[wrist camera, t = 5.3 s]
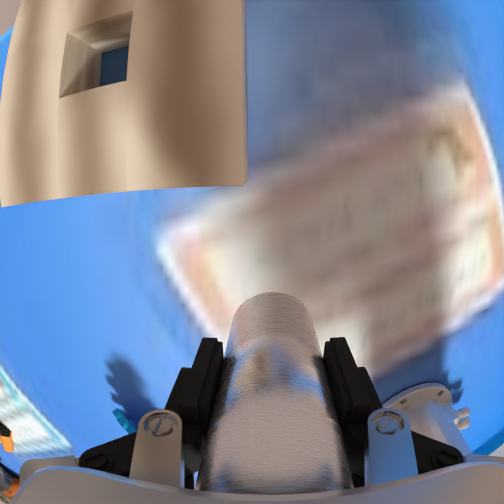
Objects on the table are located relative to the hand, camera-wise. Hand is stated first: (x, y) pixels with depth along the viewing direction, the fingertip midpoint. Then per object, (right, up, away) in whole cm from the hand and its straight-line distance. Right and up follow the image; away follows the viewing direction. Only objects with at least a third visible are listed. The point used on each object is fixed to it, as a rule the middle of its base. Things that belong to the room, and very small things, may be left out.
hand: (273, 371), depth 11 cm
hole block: (-11, +20, +9) cm, 24 cm away
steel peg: (0, +1, +3) cm, 3 cm away
